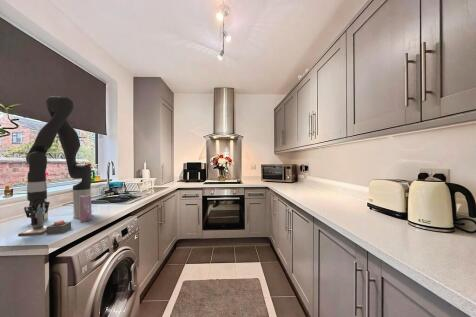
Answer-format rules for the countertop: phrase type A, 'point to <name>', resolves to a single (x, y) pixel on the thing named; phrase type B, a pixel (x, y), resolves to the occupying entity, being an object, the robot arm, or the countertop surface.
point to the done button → (58, 223)
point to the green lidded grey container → (39, 219)
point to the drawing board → (34, 231)
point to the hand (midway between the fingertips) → (37, 223)
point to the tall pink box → (85, 208)
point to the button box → (58, 228)
